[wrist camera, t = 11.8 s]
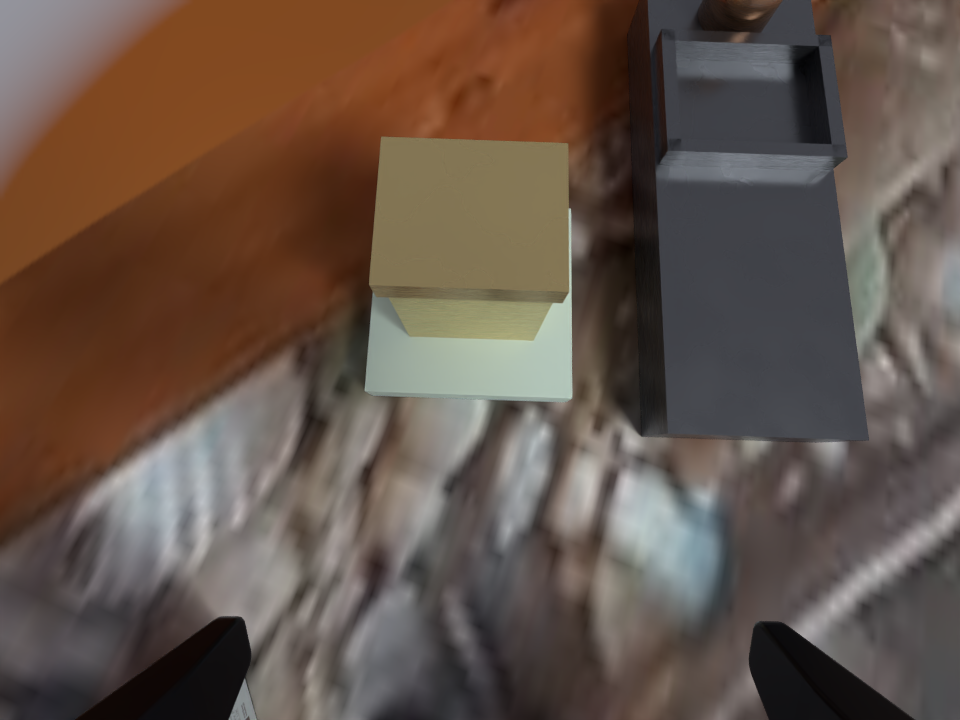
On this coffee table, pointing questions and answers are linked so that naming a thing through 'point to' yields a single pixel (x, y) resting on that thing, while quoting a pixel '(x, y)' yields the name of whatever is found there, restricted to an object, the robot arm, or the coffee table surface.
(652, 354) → the plane body
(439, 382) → the sage mat
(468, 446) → the coffee table surface
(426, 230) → the lever cap
